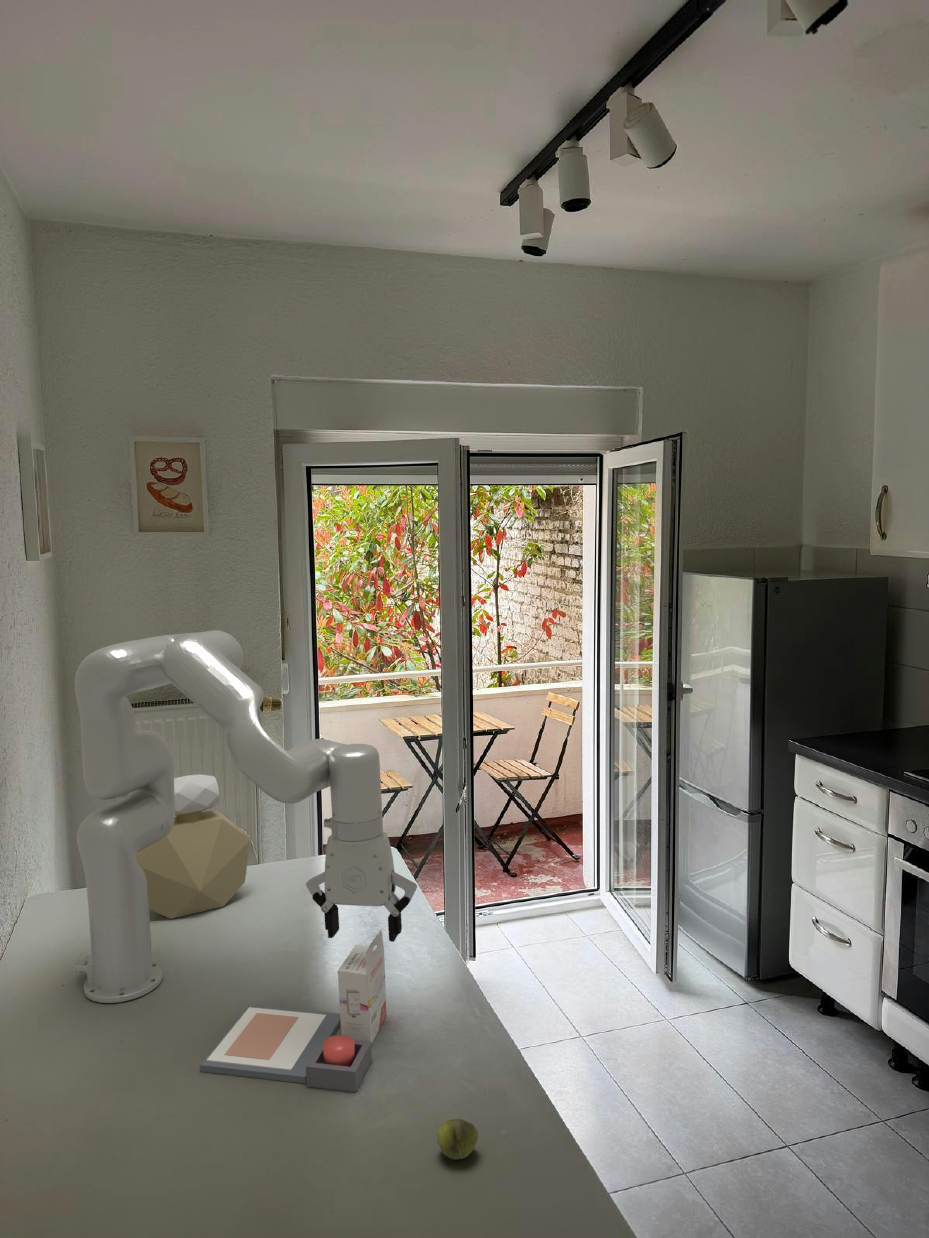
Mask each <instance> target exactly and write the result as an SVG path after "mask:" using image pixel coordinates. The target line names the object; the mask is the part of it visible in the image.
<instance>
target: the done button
mask: <svg viewBox="0 0 929 1238" xmlns="http://www.w3.org/2000/svg"><path fill="white" fill-rule="evenodd" d="M323 1054H324V1064H330V1065H339V1066H348V1067H351V1065H352V1063H353V1062H354V1060H355V1043H354V1039H353V1038H352V1037H350V1036H347V1035H341V1034H335V1035H334V1036H332V1037H330V1038H328V1039H327V1040H326V1041H325V1042H324V1044H323Z"/></svg>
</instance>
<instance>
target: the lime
mask: <svg viewBox="0 0 929 1238" xmlns="http://www.w3.org/2000/svg"><path fill="white" fill-rule="evenodd" d="M436 1133H437V1134H436V1139H437V1144H438V1146H439V1148H440V1150H441V1152H442V1154H443V1155H444V1156H445V1157H447V1158H449V1159H450V1160H456V1161H457V1160H463V1159H465V1158H467V1157H468V1156H470V1154H471V1153H472V1152H473V1151H474V1149H475V1147H476V1145H477V1142H478V1138H479V1131H478V1129H477V1128H476V1126H475V1125H474V1124H473V1123H471V1122H469V1121H467V1120H465V1119H461V1118H454V1119H453V1118H452V1119H448V1120H447V1121H446V1122H444V1123H443V1124H441V1125H440V1126H439V1128H438V1130H437V1132H436Z"/></svg>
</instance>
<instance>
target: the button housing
mask: <svg viewBox="0 0 929 1238" xmlns="http://www.w3.org/2000/svg"><path fill="white" fill-rule="evenodd" d="M328 1038H330V1037H324V1038H323V1039H322V1041H321V1043H320V1044H319V1046H318V1048H317V1049H316V1051H315V1052H314V1054H313V1056H312V1057H311V1059H310V1061H309V1062H308V1064H307V1065H306V1087H307V1088H313V1089H314V1088H315V1089H323V1090H330V1091H331V1090H332V1091H340V1092H341V1091H342V1092H349V1093H357V1092H356V1091H358V1089H359V1088H360V1086H361V1083H362V1082H361V1081H363V1079H364V1077H365V1076H364V1075H366V1074H367V1072H366V1071H368V1070H367V1069H369V1067H370V1065H371V1063H372V1062H373V1060H372V1059H373V1057H372V1056H373V1055H372V1053H373V1052H372V1045H371V1041H362V1040H354V1043H355V1060H354V1062H353V1063H352V1065H351V1067H348V1066H339V1065H330V1064H324V1054H323V1044H324V1042H325V1041H326V1040H327V1039H328ZM359 1085H360V1086H359Z"/></svg>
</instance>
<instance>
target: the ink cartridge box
mask: <svg viewBox="0 0 929 1238" xmlns="http://www.w3.org/2000/svg"><path fill="white" fill-rule="evenodd" d="M385 960H386V959H385V946H384V938H383V931H382V929H379V931H378V932H377V934H376V935H375V937H374V938H373V940H371V942H370V944H369V945H363V944H355V945H354V947H353V948H352V950H351V951H350V952H349V953H348V956H347V957H346V958H345V960H343V962H342V964H341V965H340V967H339V968H338V969H337V981H338V998H339V1001H338V1002H339V1014H340V1021H341V1025H340V1035H347V1036H350V1037H352V1038H353V1039H354V1040H362V1041H371V1046H372V1044H373V1043H374V1040H375V1038H376V1036H377V1034H378V1033H379V1031H380V1028H381V1026H382V1024H383V1022H384V1021H385V1019H386V1017H387V998H386V996H387V995H386V991H387V990H386V989H387V988H386V969H385V968H386V965H385Z"/></svg>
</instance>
